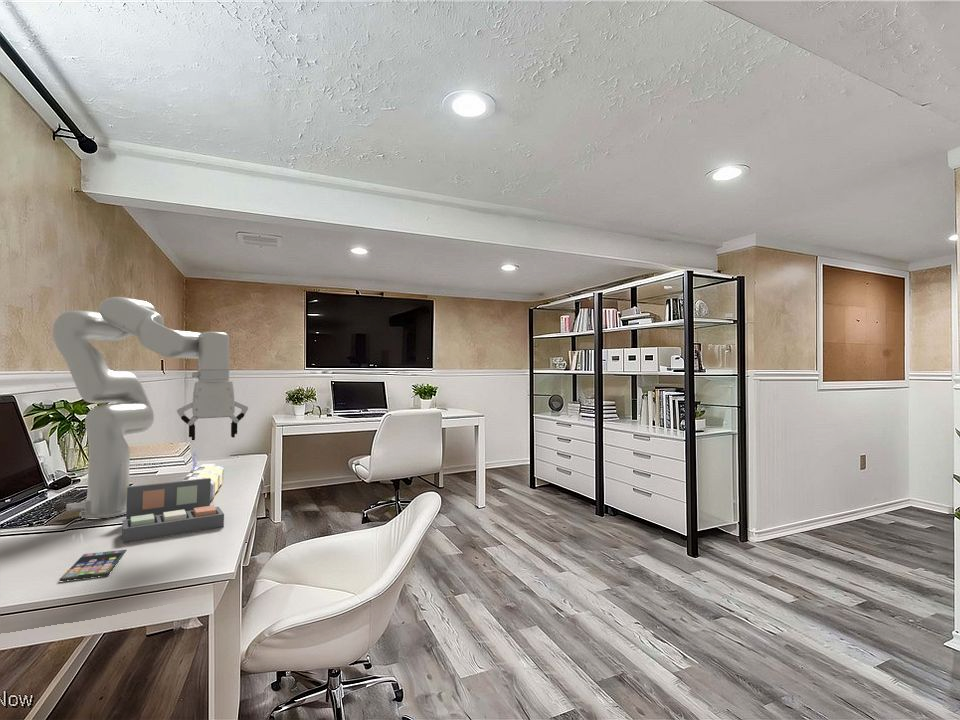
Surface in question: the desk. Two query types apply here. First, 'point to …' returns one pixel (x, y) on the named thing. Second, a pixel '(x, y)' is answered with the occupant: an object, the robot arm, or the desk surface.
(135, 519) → the key sage
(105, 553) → the smartphone
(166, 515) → the key cream
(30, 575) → the desk surface
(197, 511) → the key terracotta
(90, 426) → the robot arm
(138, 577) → the desk surface
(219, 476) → the white yellow ridged block
